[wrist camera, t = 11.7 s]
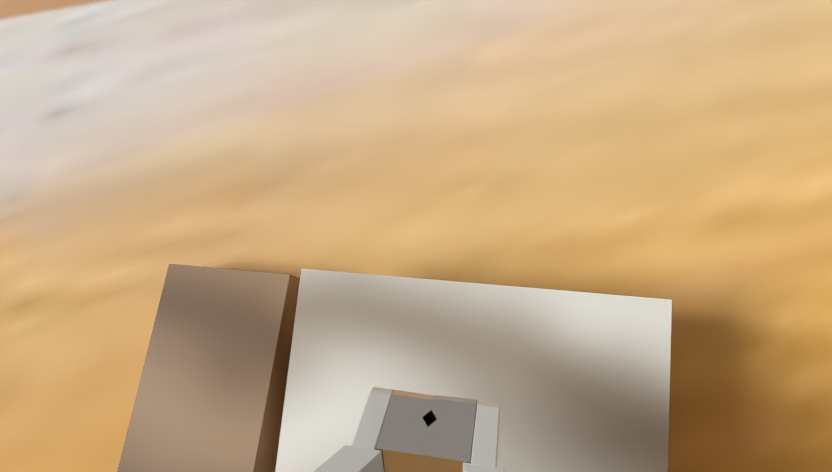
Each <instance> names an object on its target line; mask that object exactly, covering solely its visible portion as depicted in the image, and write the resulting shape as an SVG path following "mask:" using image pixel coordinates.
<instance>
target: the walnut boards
mask: <svg viewBox="0 0 832 472" xmlns="http://www.w3.org/2000/svg"><path fill="white" fill-rule="evenodd" d="M299 283H300V279H298V278H296V277H294V276H292V275H290V274H279V273H268V272H256V271H245V270H233V269H222V268H210V267H199V266H188V265H176V264H169V267H168V271H167V275H166V279H165V283H164V287H163V291H162V295H161V299H160V303H159V307H158V311H157V315H156V319H155V323H154V327H153V331H152V335H151V339H150V343H149V347H148V351H147V355H146V359H145V363H144V367H143V371H142V375H141V379H140V383H139V387H138V391H137V395H136V399H135V403H134V407H133V411H132V415H131V419H130V423H129V427H128V431H127V435H126V439H125V443H124V447H123V451H122V455H121V459H120V463H119V467H118V471H117V472H275V470H276V462H277V454H278V446H279V438H280V431H281V423H282V415H283V407H284V400H285V392H286V384H287V376H288V368H289V361H290V353H291V345H292V337H293V329H294V322H295V314H296V306H297V298H298V290H299Z"/></svg>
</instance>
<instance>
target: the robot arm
mask: <svg viewBox="0 0 832 472" xmlns="http://www.w3.org/2000/svg"><path fill="white" fill-rule="evenodd" d="M499 420H500V403H497V402H489V401H481V400H478V403H477V400H476V399H467V398H458V397H449V396H440V395H435V396H433V395H427V394H420V393H413V392H407V391H400V390H393V389H385V388H378V387H373V388H372V390H371V391H370V392H369V395H368V398H367V401H366V404H365V407H364V410H363V413H362V416H361V418H360V421H359V424H358V427H357V430H356V433H355V436H354V439H353V442H352V445H351V446H348V445H345V446H343V447H342V448H341V449H340V450H339V451H337V452H336V453H335V454H334V455H333V456H331V457H330V458H329V459H328V460H327V461H326V462H324V463H323V464H322V465H321V466H320V467H318V468H317V469H316V470H315V471H314V472H505V470H504V469H503V468H498V467H497V455H498V438H499Z"/></svg>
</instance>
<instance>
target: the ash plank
mask: <svg viewBox="0 0 832 472" xmlns="http://www.w3.org/2000/svg"><path fill="white" fill-rule="evenodd" d="M671 314H672V300H670V299H658V298H646V297H635V296H623V295H611V294H599V293H587V292H575V291H563V290H552V289H540V288H528V287H516V286H504V285H492V284H480V283H469V282H457V281H445V280H433V279H421V278H409V277H397V276H386V275H374V274H362V273H350V272H338V271H326V270H314V269H303V268H301V275H300V283H299V290H298V298H297V306H296V314H295V322H294V329H293V337H292V345H291V353H290V361H289V368H288V376H287V384H286V392H285V400H284V407H283V415H282V423H281V431H280V438H279V446H278V454H277V462H276V470H275V472H314V471H315V470H316V469H317V468H318V467H320V466H321V465H322V464H323V463H324V462H326V461H327V460H328V459H329V458H330V457H331V456H333V455H334V454H335V453H336V452H337V451H339V450H340V449H341V448H342V447H343V446H345V445H348V446H351V445H352V442H353V439H354V436H355V433H356V430H357V427H358V424H359V421H360V418H361V416H362V413H363V410H364V407H365V404H366V401H367V398H368V395H369V392H370V391H371V390H372V388H373V387H378V388H385V389H393V390H400V391H407V392H413V393H420V394H427V395H433V396H435V395H440V396H449V397H458V398H467V399H476V400H477V403H478V400H481V401H489V402H497V403H500V420H499V438H498V455H497V467H498V468H503V469H504V470H505V472H668V445H669V401H670V358H671Z"/></svg>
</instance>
